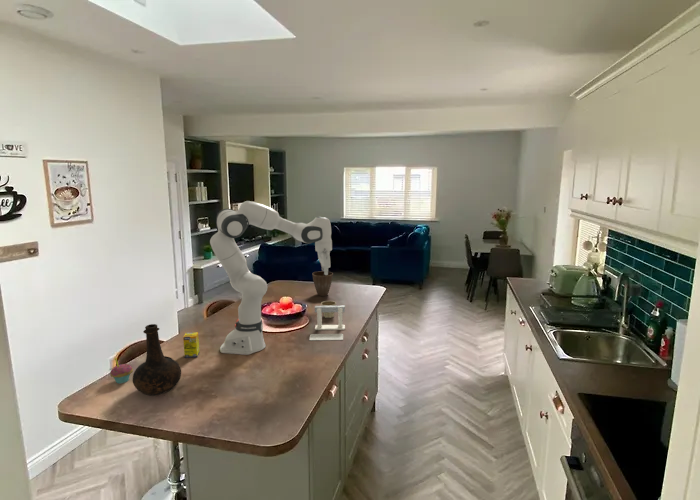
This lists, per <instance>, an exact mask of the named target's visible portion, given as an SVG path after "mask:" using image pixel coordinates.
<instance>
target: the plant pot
mask: <svg viewBox="0 0 700 500" xmlns="http://www.w3.org/2000/svg"><path fill="white" fill-rule="evenodd" d="M333 276H334V273H333V272H331V271H328V275H325V274H324V271H322V270H321V271H314V272H312V281H313V284H314V288H315V291H316V294H317V296H319V297H326V296H329V295H328V294H329V292H330V289H331V286H332V281H333Z"/></svg>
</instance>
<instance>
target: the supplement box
mask: <svg viewBox="0 0 700 500" xmlns="http://www.w3.org/2000/svg"><path fill="white" fill-rule="evenodd" d="M199 339H200V338H199V332H197V331H196V332H185V334H184V335H183V337H182V340H183V342H182V343H183V351H184V352H183V354H184V358H185V359H191V358H198V357H199V354H200V340H199Z"/></svg>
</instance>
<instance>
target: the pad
mask: <svg viewBox="0 0 700 500" xmlns="http://www.w3.org/2000/svg"><path fill="white" fill-rule="evenodd" d="M309 341H344V334H343V333H310V336H309Z"/></svg>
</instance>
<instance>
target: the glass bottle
mask: <svg viewBox="0 0 700 500" xmlns="http://www.w3.org/2000/svg"><path fill="white" fill-rule="evenodd" d="M159 330H160V328H159V327H158V324H157V323H156V324H155V323H151V324H148V325H145V327H144V330H143V334H145V339H146V354H145V355H146V357H145V361H144V362H142V363H141V364H140V365H138V366H137V367H136V368H135V370H134V371H133V373H132V384H133V386H134V388H135V389H136V390H137V391H138V392H140V393H141V394H144V395H146V396H159V395H162V394H165V393H168V392H170V391H171V390H173V389H174V388H175V387H176V386H177V385H178V383H179V381H180V379H181V376H182V368H181V366H180V364H179V363H178V362H177V360H174V359H173V358H172V357H170V356H166V355H164V353H163V350H162V346H161V342H160V337H159V332H158V331H159Z"/></svg>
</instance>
